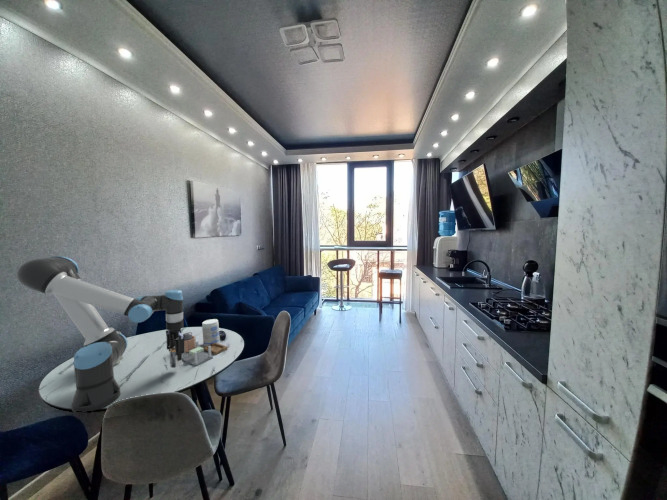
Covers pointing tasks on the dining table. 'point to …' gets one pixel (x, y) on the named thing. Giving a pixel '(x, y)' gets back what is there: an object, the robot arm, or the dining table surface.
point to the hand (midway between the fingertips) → (175, 364)
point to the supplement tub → (210, 332)
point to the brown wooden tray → (216, 348)
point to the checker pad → (196, 350)
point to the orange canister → (189, 342)
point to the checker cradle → (197, 357)
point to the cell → (172, 357)
